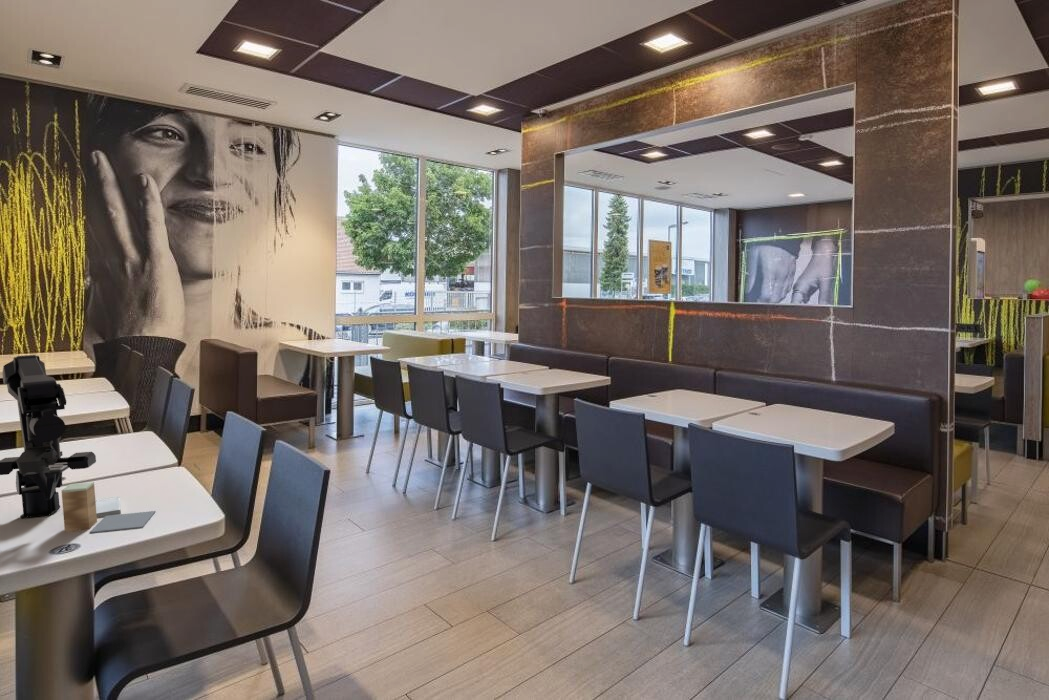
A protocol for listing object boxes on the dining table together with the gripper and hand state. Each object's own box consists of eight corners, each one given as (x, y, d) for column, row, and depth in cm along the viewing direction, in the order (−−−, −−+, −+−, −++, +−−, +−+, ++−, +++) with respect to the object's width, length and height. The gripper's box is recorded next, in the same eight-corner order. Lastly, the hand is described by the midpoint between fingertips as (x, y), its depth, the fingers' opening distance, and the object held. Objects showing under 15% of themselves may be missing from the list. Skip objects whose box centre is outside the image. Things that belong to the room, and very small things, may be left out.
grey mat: (89, 533, 145) (89, 531, 145) (105, 516, 156) (105, 515, 156) (143, 527, 148) (143, 526, 148) (155, 511, 159) (155, 510, 159)
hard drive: (120, 509, 158) (119, 496, 168) (81, 516, 154) (82, 502, 164) (121, 515, 158) (120, 502, 169) (81, 522, 154) (83, 508, 164)
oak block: (64, 531, 146) (61, 490, 145) (73, 524, 151) (70, 484, 150) (89, 529, 148) (86, 488, 147) (97, 521, 153) (94, 482, 152)
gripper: (-25, 445, 135) (-18, 514, 137) (76, 438, 140) (81, 505, 142) (2, 433, 146) (8, 498, 147) (94, 428, 151) (99, 490, 153)
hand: (48, 498), depth 147 cm, fingers closed
